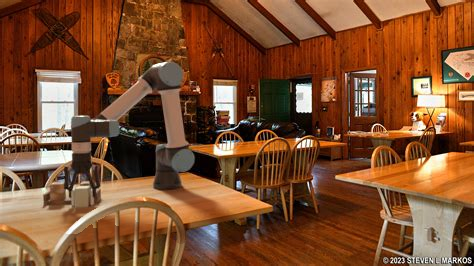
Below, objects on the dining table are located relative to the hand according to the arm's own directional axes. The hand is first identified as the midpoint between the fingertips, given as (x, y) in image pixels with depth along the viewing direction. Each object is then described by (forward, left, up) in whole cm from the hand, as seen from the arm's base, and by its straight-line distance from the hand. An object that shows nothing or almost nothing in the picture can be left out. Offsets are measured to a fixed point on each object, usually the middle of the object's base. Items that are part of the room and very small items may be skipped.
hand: (82, 204), depth 153 cm
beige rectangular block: (0, 0, 0) cm, 0 cm away
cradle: (+6, -7, 0) cm, 10 cm away
